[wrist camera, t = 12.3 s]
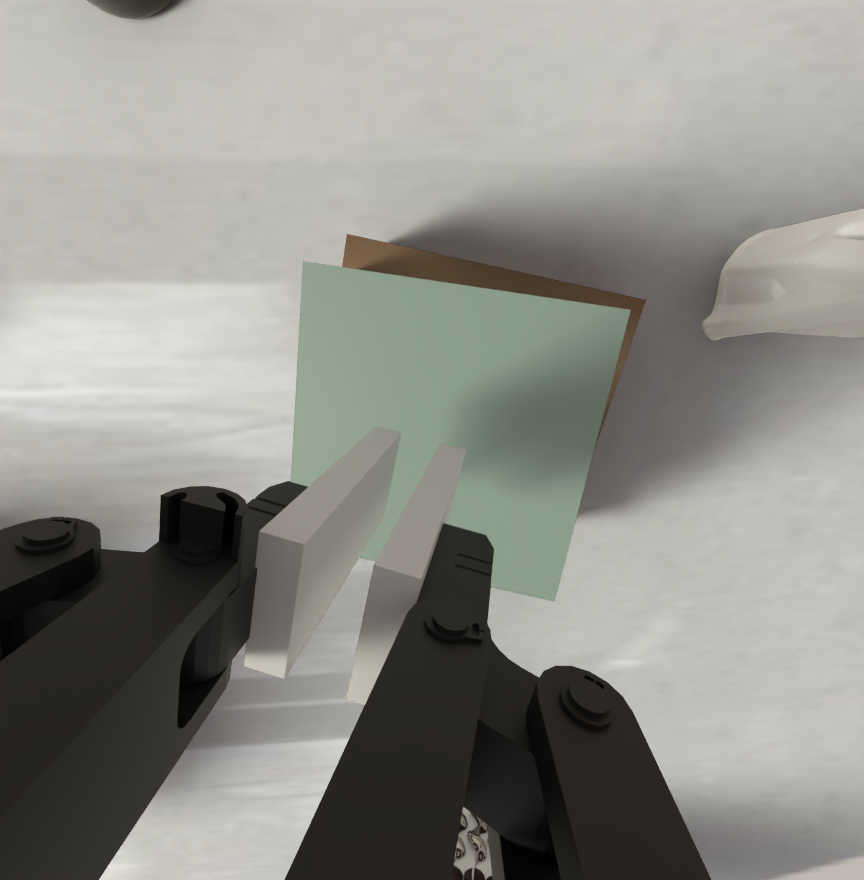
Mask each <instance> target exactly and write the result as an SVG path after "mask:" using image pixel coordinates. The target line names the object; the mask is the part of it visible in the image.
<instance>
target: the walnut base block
mask: <svg viewBox="0 0 864 880" xmlns="http://www.w3.org/2000/svg"><path fill="white" fill-rule="evenodd" d="M342 267H345V268H351V269H358V270H365V271H372V272H378V273H385V274H392V275H399V276H405V277H412V278H419V279H426V280H432V281H439V282H446V283H453V284H459V285H466V286H473V287H480V288H486V289H493V290H500V291H507V292H513V293H520V294H527V295H534V296H540V297H547V298H554V299H561V300H567V301H574V302H581V303H588V304H594V305H601V306H608V307H615V308H621V309H628V310H631V311H630V315H629V319H628V322H627V326H626V330H625V334H624V338H623V341H622V345H621V349H620V353H619V357H618V361H617V364H616V368H615V372H614V376H613V380H612V383H611V387H610V391H609V395H608V399H607V403H606V406H605V410H604V414H603V418H602V422H601V426H600V429H599V433H598V437H599V434H600V431H601V428H602V426H603V423H604V420H605V417H606V414H607V411H608V408H609V405H610V402H611V399H612V397H613V394H614V391H615V388H616V385H617V382H618V379H619V376H620V373H621V370H622V367H623V365H624V362H625V359H626V356H627V353H628V350H629V347H630V344H631V341H632V338H633V336H634V333H635V330H636V327H637V324H638V321H639V318H640V315H641V312H642V309H643V306H644V304H645V301H646V300H643V299H638V298H634V297H629V296H625V295H620V294H616V293H611V292H607V291H602V290H598V289H593V288H589V287H584V286H580V285H575V284H571V283H566V282H562V281H557V280H553V279H548V278H544V277H539V276H535V275H530V274H525V273H521V272H516V271H512V270H507V269H503V268H498V267H494V266H489V265H485V264H480V263H476V262H471V261H467V260H462V259H458V258H453V257H449V256H444V255H440V254H435V253H431V252H426V251H422V250H417V249H413V248H408V247H404V246H399V245H394V244H390V243H385V242H381V241H376V240H372V239H367V238H363V237H358V236H354V235H349V234H347V238H346V245H345V251H344V258H343V265H342ZM598 437H597V440H598ZM596 443H597V441H596ZM595 446H596V445H595ZM594 449H595V448H594Z"/></svg>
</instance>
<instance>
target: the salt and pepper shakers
mask: <svg viewBox="0 0 864 880" xmlns="http://www.w3.org/2000/svg"><path fill="white" fill-rule="evenodd" d="M702 327H703V330H704V332H705V334H706V336H707V337H708V338H710V339H712V340H719V339H721V338H725V337H734V336H741V335H749V334H757V333H766V332H776V333H790V334H804V335H817V336H834V337H854V338H864V208H863V209H858V210H854V211H849V212H844V213H840V214H836V215H832V216H827V217H823V218H818V219H814V220H810V221H806V222H801V223H798V224H793V225H790V226H785V227H781V228H772V229H768V230H765V231H762V232H760V233H758V234H756V235H754V236H752V237H750V238H748V239H747V240H745V241H744V242H743V243H742V244H741V245H740V246H739V247H738V248H737V249H736V250H735V251H734V253H733V254H732V255H731V257H730V258H729V259H728V261H727V262H726V264H725V265H724V267H723V269H722V271H721V275H720V282H719V287H718V292H717V297H716V301H715V305H714V308H713V311H712V313H711V315H710V316H709V317H708V318H706V319H705V320H704V321H703V323H702Z"/></svg>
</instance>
